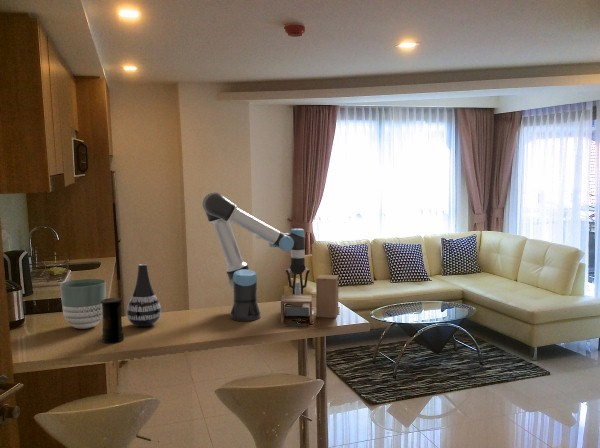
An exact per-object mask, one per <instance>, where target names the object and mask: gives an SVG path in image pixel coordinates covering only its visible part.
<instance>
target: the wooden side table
mask: <svg viewBox="0 0 600 448" xmlns="http://www.w3.org/2000/svg"><path fill="white" fill-rule="evenodd" d="M286 304H290V305H291V304H303V305H305V304H309V323H310V324H312V323H313V315H312V310H313V307H312V306H313V295H312V294H301V295H295V294H282V296H281V299H280V323H281V324H283V323H284V320H285V305H286Z"/></svg>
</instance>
